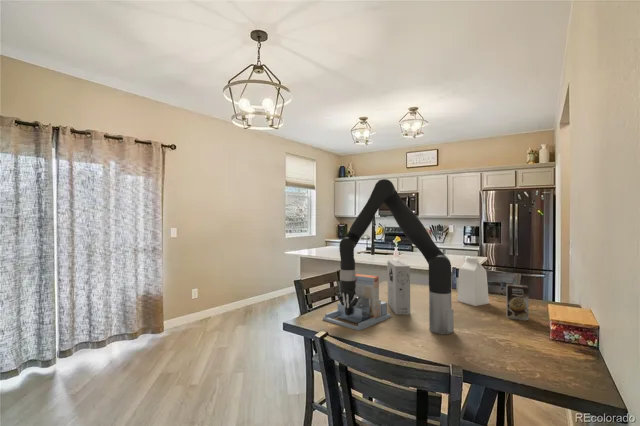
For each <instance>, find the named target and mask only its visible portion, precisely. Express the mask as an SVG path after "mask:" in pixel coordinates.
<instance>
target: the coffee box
mask: <svg viewBox="0 0 640 426" xmlns="http://www.w3.org/2000/svg"><path fill="white" fill-rule="evenodd" d="M529 294H530V293H529V286H528V285H525V284H516V283H506V319H511V320H518V319H519V321H526V320H529V317H530V316H529V314H530V313H529V307H530V306H529ZM529 321H530V320H529Z"/></svg>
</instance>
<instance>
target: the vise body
mask: <svg viewBox="0 0 640 426" xmlns="http://www.w3.org/2000/svg"><path fill="white" fill-rule="evenodd" d="M391 315H392V314H390V313H388V301H382V299H380V298H379V317H378V318H371V319H368V320H366V321H363V322H361V323H357V325H354V324H351V323H347V322H346V321H345V322H344V321H341V320H338V319H334V318H336V317H338V309H336V310H333V311H330V312H327V313H324V316H323V317H322V320H323V321H325V322H329V323H333V324H335V325H338V326H341V327H345V328H347V329H352V330H355V331H358V332H359V331H362V330H365V329H366V328H369V327H371V326H373V325H376V324H379V323H380V322H382V321H385V320H388V319H390V318H391Z"/></svg>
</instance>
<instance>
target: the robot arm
mask: <svg viewBox="0 0 640 426" xmlns="http://www.w3.org/2000/svg"><path fill="white" fill-rule="evenodd" d="M383 204H384V205H385V206H386V207H387V208H388V210H389V211H390V212H391V214H392V216H393V218H394V220H395V222H396V224H397V225H398V227H399V229H400V230H401V232H402V233H403V234H404V235H405V237H406V238H407V240H408V241H409V242H410V243H411V244H413V245H414V247H416V248H417V250H419V252H420V253H421V255H422V256H423V257H424V259H425V261H426V262H427V264H428V306H429V307H428V309H429V310H428V311H429V312H428V313H429V314H428V315H429V319H428V321H429V324H428V325H429V331H430V332H432V333H435V334H439V335H447V336H448V335H450V334H452V333H454V309H452V283H453V282H452V263H451V261H450V259H449V257H448V256H447V255H446V254H445V253H444V252H442V250H441V248H439V247H438V246H437V245H436V244H435V242H434V241H433V239H432V237H431V235H430V233H429V232H428V230H427V228H426V227H425V226H424V224H423V223H422V221H421V220H420V219H419V218H418V216H417V215H416V214H415V212H414V211H413V210H412V209H411V208H410V207H409V206H408V205H406V203H405V202H404V201H403V200H402V198H401V196H400V195H399V193H398V191H397V190H396V188H395V185H394V184H393V182H392V181H391V180H390V179H389V178H388V179H387V178H381V179H380V180H378V181H377V182H376V183H375V185H374V187H373V189H372V192H371V194H370V195H369V197H368V200H367V202H366V203H365V205H364V206H363V208H362V210H361V211H360V212H359V214H358V215H357V217H356V218H355V220H354V221H353V223H352V224H351V226H350V227H349V230H348V232H347V234H346V235H345V236H344V237H343V238H342V239H341V240H340V242H339V244H338V245H339V247H338V248H339V257H340V272H339V288H340V291H339V293H337V294H336V297H337V298H338V300H339V303H341V305H344V307H345V314H346V315H348V316H349V315H351V307H354V306H355V305H356V304H357V302H358V301H359V299H360V297H357V296H356V292H355V289H356V274H357V273H356V259H355V248H356V246H357V245H358V243H359V241H360V239H361V237H362V236H364V234H365V233H366V231H367V230H368V229H369V227H370V225H371V223H372V222H373V220H374V218H375V216H376V214H377V212H378V210H379V209H380V207H381V206H382V205H383ZM353 298H354V299H353ZM346 302H347V303H346Z"/></svg>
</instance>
